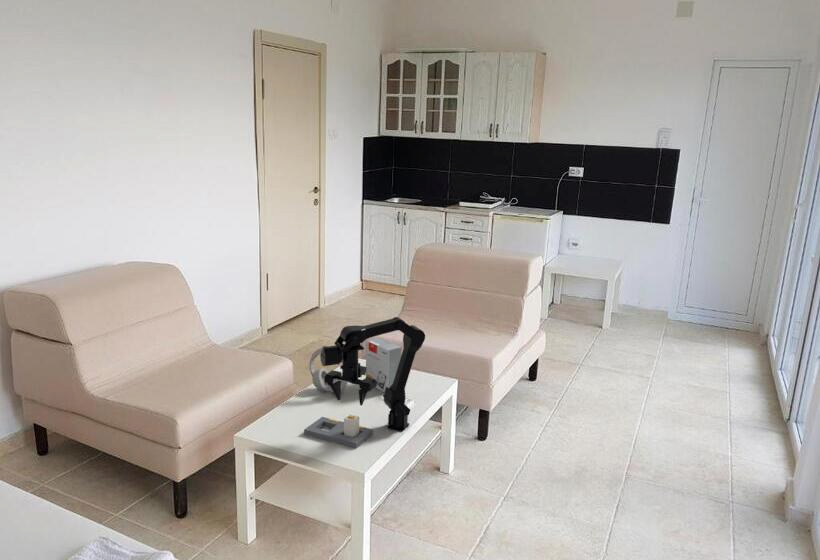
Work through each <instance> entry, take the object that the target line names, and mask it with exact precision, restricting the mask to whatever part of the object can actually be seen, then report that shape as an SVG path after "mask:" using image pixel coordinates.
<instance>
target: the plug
mask: <svg viewBox="0 0 820 560" xmlns="http://www.w3.org/2000/svg"><path fill="white" fill-rule="evenodd" d="M343 422H344V435H345V436H349V437H352V438H355V437H356V436H358V435H359V426H360V416H358V415H354V414H348V415H347V416H345V417H344V418H343Z"/></svg>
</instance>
